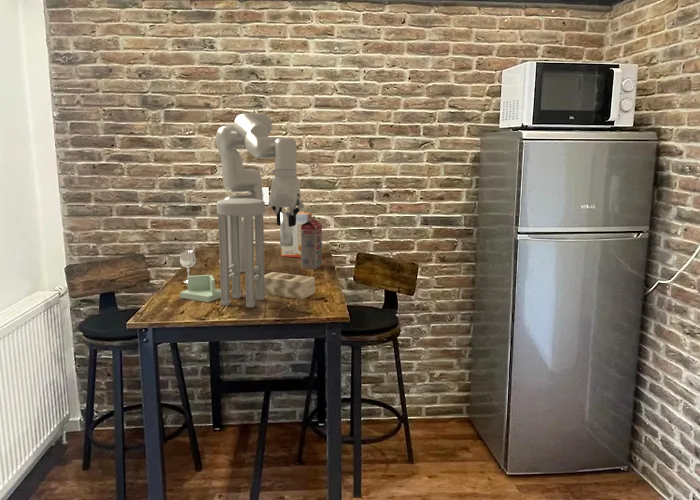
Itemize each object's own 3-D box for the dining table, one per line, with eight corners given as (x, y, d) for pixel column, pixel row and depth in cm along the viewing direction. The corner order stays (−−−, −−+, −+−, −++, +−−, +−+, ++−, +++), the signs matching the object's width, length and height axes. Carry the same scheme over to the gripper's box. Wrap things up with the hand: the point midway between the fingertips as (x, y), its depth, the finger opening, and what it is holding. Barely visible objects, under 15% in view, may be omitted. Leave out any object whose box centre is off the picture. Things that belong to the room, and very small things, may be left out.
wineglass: (182, 283, 225) (181, 253, 223) (179, 280, 230) (178, 250, 228) (197, 282, 228) (196, 252, 225) (194, 279, 233) (193, 249, 230)
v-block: (198, 291, 214) (197, 272, 213) (225, 295, 209) (224, 276, 208) (180, 297, 206) (179, 278, 205) (208, 302, 201) (207, 282, 200)
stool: (272, 297, 208) (270, 199, 201) (256, 309, 193) (253, 204, 186) (232, 294, 211) (229, 197, 204) (212, 306, 196) (208, 202, 190)
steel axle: (278, 245, 209) (277, 212, 207) (284, 243, 213) (284, 210, 211) (288, 246, 207) (288, 213, 205) (294, 244, 211) (294, 211, 209)
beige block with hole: (259, 293, 213) (259, 277, 212) (273, 287, 221) (272, 271, 220) (302, 299, 206) (302, 282, 205) (314, 293, 214) (314, 277, 213)
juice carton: (301, 267, 254) (301, 217, 250) (308, 264, 260) (308, 215, 256) (315, 268, 252) (315, 218, 248) (321, 265, 258) (321, 216, 254)
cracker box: (312, 256, 278) (312, 212, 274) (307, 258, 272) (307, 214, 268) (286, 254, 282) (285, 211, 278) (280, 256, 277) (279, 212, 273)
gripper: (259, 173, 205) (260, 225, 209) (301, 175, 198) (301, 228, 202) (271, 172, 212) (272, 222, 215) (312, 174, 205) (312, 225, 208)
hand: (286, 224), depth 209 cm, fingers closed on steel axle, 4 cm apart
